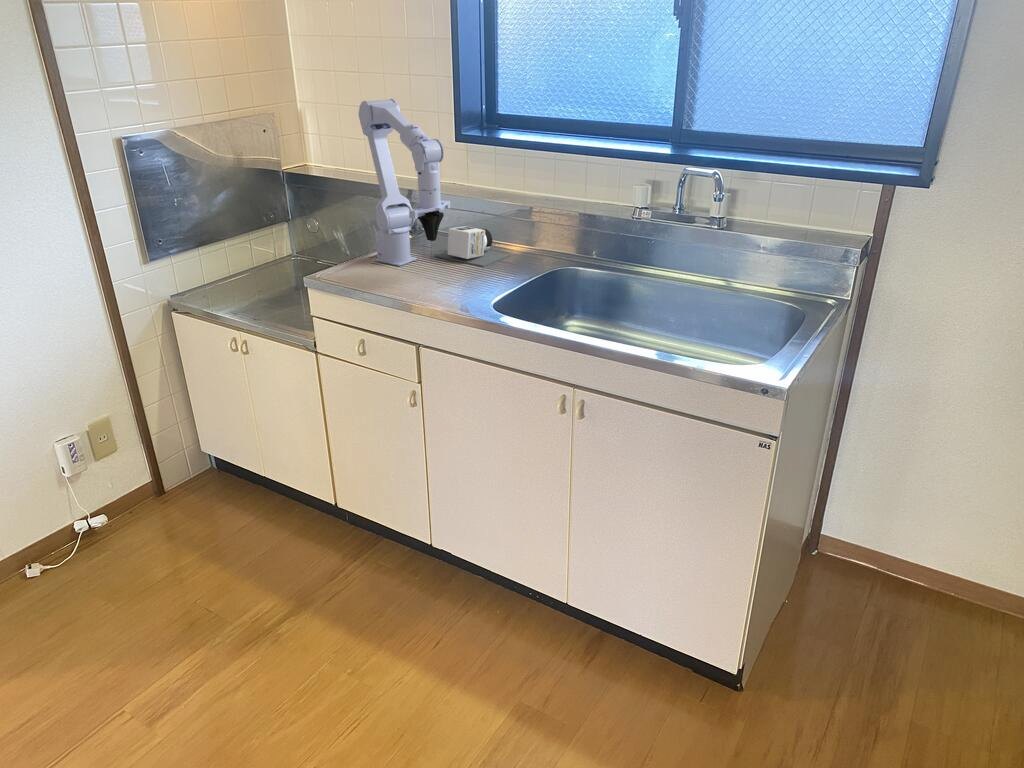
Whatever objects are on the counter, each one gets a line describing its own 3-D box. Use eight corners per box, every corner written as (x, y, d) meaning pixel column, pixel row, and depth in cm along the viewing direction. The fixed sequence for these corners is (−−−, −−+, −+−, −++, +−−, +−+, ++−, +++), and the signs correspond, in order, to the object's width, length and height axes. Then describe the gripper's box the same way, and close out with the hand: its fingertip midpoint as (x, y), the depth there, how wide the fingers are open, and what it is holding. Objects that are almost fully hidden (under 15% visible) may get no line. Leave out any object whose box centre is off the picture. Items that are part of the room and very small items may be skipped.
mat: (434, 256, 229) (434, 255, 228) (461, 246, 238) (461, 245, 238) (484, 267, 219) (483, 265, 219) (509, 256, 229) (509, 254, 229)
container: (469, 232, 219) (496, 228, 229) (448, 228, 223) (475, 224, 233) (467, 259, 221) (494, 254, 232) (446, 254, 226) (474, 250, 236)
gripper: (423, 195, 193) (425, 248, 199) (458, 185, 204) (460, 236, 210) (401, 192, 197) (404, 244, 203) (437, 182, 208) (439, 232, 213)
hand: (431, 240), depth 207 cm, fingers closed
